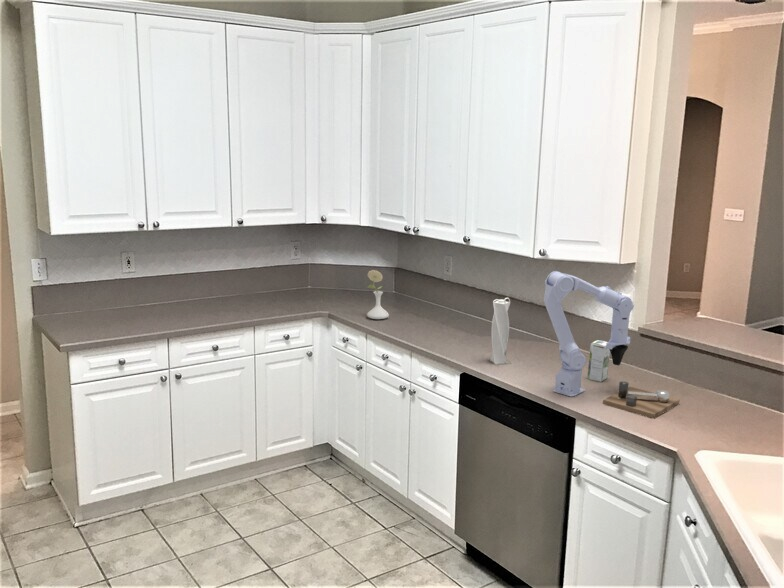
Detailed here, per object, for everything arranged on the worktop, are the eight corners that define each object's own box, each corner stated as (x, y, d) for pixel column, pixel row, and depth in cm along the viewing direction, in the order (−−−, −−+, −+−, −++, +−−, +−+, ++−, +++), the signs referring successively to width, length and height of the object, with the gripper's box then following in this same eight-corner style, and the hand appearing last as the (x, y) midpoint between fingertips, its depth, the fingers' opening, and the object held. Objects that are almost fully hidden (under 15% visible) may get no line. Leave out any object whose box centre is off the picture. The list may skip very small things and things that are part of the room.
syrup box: (593, 375, 261) (596, 339, 258) (607, 378, 257) (611, 342, 254) (587, 379, 256) (590, 342, 253) (601, 382, 253) (605, 345, 250)
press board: (653, 418, 218) (655, 405, 217) (602, 403, 231) (603, 391, 230) (679, 403, 232) (680, 391, 231) (629, 390, 245) (630, 378, 244)
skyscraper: (512, 365, 272) (516, 298, 267) (493, 366, 271) (497, 298, 265) (504, 359, 280) (508, 293, 275) (486, 360, 279) (489, 294, 273)
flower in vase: (393, 318, 347) (394, 270, 341) (379, 322, 338) (380, 273, 333) (374, 314, 354) (374, 267, 349) (359, 317, 346) (360, 270, 341)
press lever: (669, 402, 228) (671, 388, 227) (619, 398, 231) (620, 384, 230) (667, 398, 232) (668, 384, 231) (617, 394, 235) (618, 380, 234)
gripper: (620, 333, 233) (617, 371, 236) (639, 327, 243) (636, 362, 246) (602, 330, 238) (598, 366, 241) (621, 323, 248) (618, 358, 251)
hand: (616, 364), depth 244 cm, fingers closed
